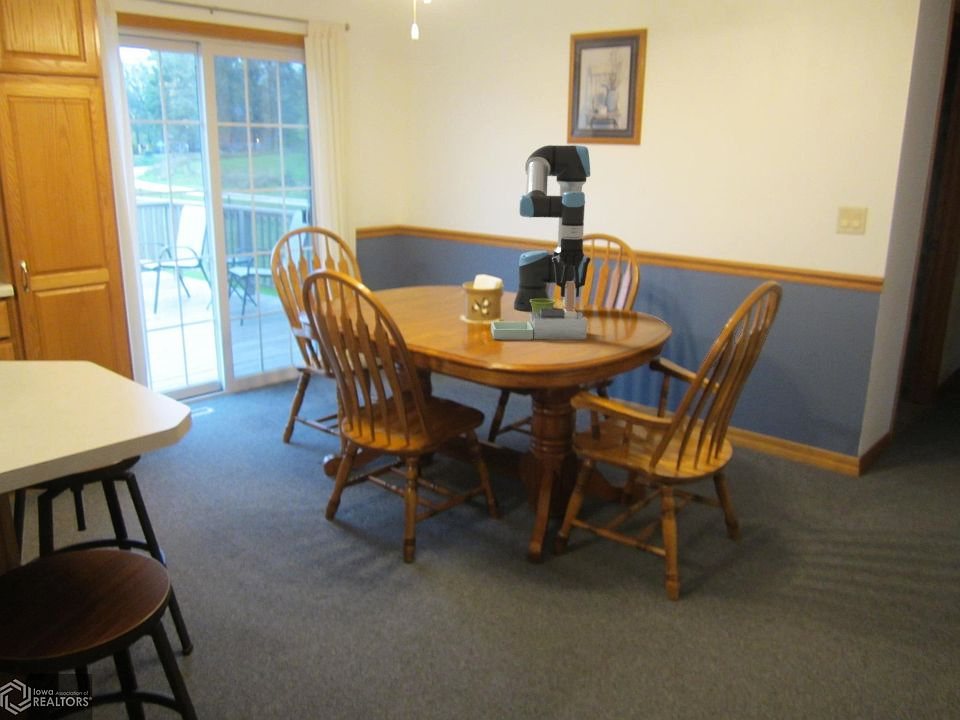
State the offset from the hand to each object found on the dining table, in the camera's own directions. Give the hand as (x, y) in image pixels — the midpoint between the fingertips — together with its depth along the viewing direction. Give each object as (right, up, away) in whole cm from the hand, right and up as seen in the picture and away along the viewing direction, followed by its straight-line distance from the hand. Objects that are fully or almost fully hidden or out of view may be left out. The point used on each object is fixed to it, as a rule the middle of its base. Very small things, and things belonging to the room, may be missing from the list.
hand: (569, 305), depth 278 cm
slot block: (-4, -10, +2) cm, 11 cm away
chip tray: (-20, -10, +1) cm, 23 cm away
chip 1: (-8, -5, +1) cm, 10 cm away
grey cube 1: (-4, -5, +1) cm, 7 cm away
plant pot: (-8, -5, +22) cm, 24 cm away
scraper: (0, -5, +1) cm, 5 cm away
